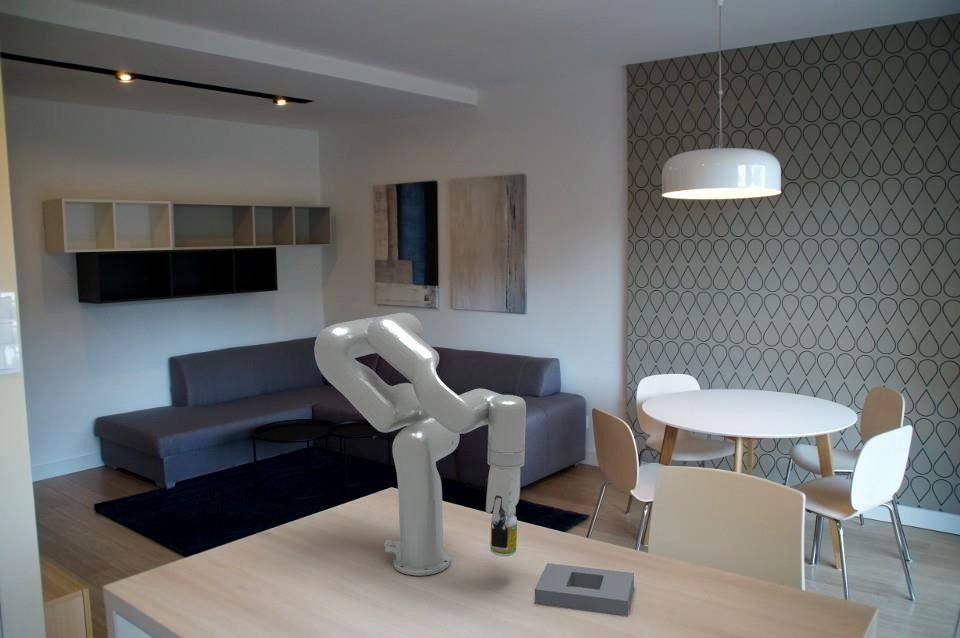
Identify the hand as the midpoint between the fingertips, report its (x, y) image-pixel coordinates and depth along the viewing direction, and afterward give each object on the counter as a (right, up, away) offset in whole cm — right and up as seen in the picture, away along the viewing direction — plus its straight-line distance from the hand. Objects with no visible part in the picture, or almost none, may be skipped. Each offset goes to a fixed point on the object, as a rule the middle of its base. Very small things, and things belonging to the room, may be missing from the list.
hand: (503, 539), depth 154 cm
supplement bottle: (0, -3, 0) cm, 3 cm away
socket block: (+16, -10, -5) cm, 20 cm away
